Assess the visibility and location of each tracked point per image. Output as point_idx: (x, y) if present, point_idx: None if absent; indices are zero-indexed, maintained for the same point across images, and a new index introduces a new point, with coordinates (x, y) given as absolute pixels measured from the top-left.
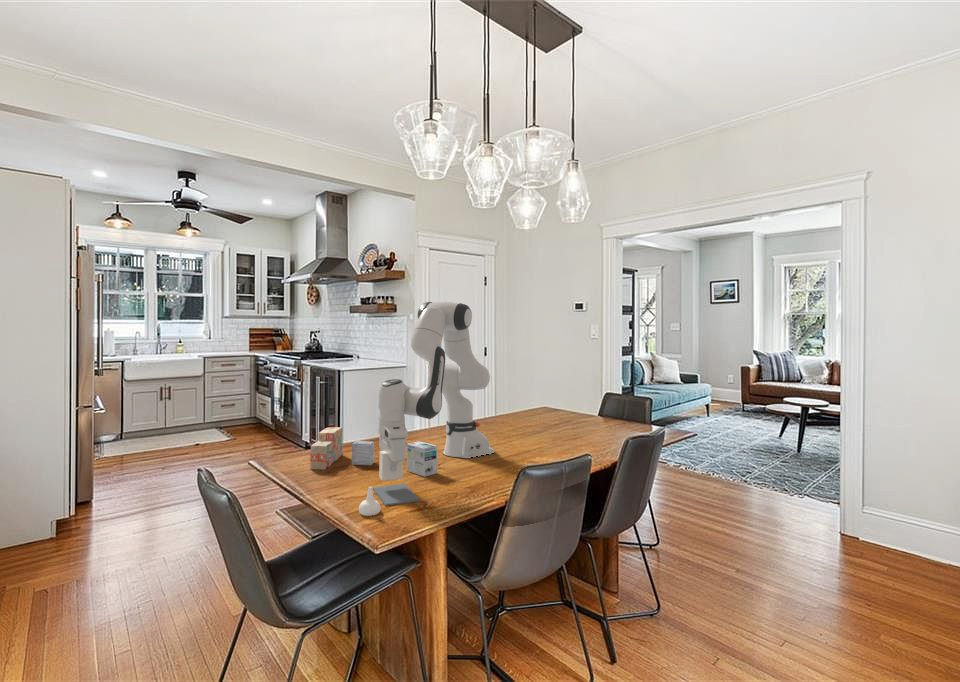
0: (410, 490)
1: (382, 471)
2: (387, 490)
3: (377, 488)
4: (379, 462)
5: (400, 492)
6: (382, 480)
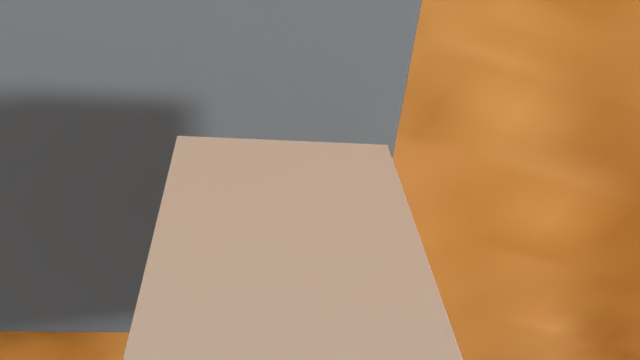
0: (111, 327)
1: (153, 246)
2: (208, 133)
3: (349, 44)
4: (451, 354)
5: (76, 235)
6: (178, 143)
